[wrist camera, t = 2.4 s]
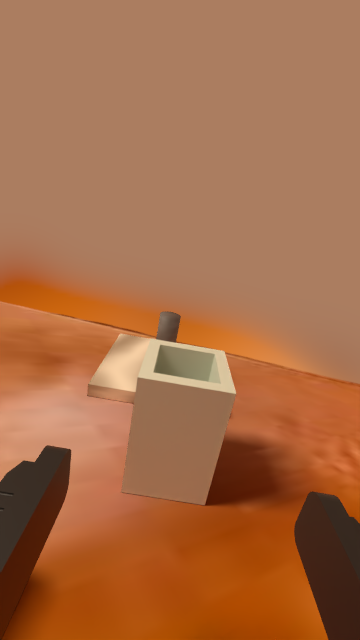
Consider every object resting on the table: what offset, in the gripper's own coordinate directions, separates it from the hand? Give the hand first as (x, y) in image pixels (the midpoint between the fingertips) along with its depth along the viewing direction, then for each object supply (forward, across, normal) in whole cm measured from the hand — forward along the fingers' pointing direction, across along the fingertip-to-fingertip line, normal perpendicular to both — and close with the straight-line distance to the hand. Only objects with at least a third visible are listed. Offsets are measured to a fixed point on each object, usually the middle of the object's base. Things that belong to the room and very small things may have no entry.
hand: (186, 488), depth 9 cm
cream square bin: (+12, 0, +11) cm, 16 cm away
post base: (+27, +2, +11) cm, 29 cm away
